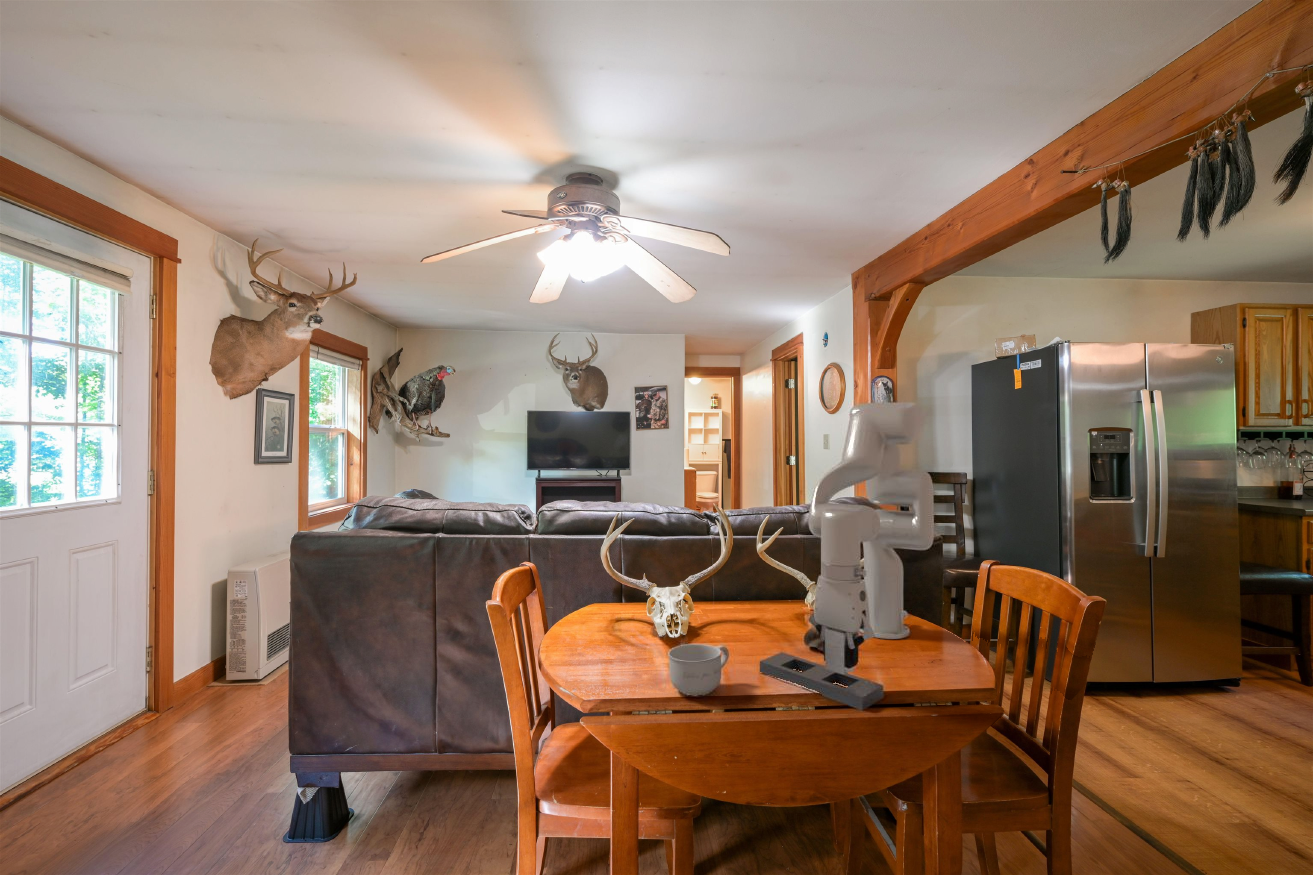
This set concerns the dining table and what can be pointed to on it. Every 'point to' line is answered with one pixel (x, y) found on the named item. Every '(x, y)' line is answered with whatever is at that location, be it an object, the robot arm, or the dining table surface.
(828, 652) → the grey rectangular block
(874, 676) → the dining table surface
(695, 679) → the teacup
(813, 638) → the mushroom
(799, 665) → the rail
